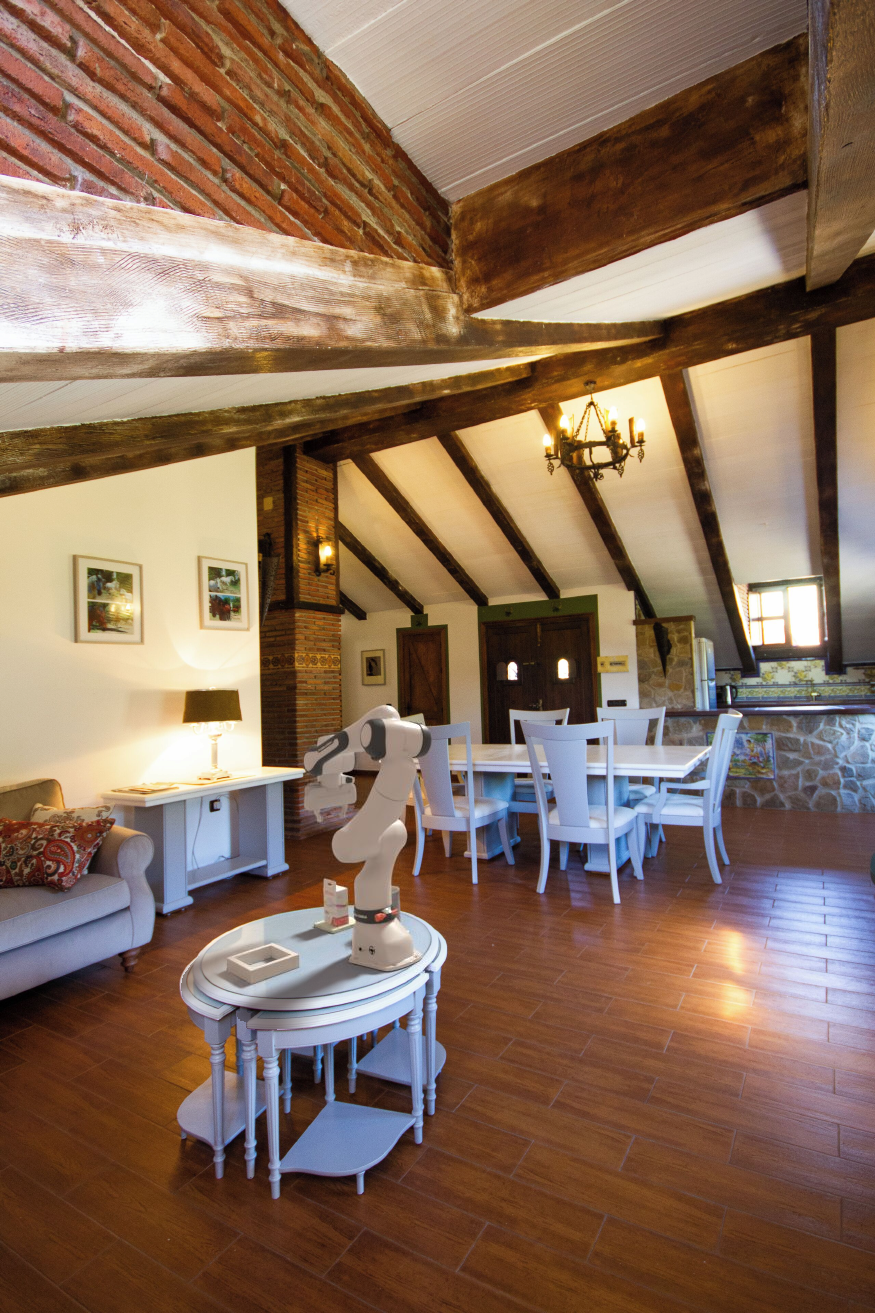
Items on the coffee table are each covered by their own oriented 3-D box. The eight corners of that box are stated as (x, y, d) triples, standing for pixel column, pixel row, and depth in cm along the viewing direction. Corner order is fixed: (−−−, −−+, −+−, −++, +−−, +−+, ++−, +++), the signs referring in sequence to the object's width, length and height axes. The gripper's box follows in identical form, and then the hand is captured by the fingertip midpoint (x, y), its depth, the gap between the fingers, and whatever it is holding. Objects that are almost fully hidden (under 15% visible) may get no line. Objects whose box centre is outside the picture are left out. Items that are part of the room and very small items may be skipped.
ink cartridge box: (349, 923, 221) (348, 879, 222) (337, 927, 218) (335, 882, 219) (336, 918, 228) (334, 875, 229) (323, 922, 224) (322, 878, 225)
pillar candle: (366, 932, 214) (364, 886, 215) (389, 924, 220) (387, 879, 221) (384, 940, 207) (381, 891, 208) (407, 931, 213) (405, 884, 214)
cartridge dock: (299, 967, 188) (298, 954, 188) (251, 984, 178) (251, 971, 178) (273, 954, 199) (272, 943, 199) (226, 970, 188) (226, 957, 189)
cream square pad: (363, 924, 223) (362, 921, 223) (333, 933, 215) (333, 930, 215) (342, 917, 232) (342, 914, 232) (313, 926, 223) (313, 923, 223)
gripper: (309, 784, 222) (310, 825, 221) (358, 777, 236) (359, 816, 235) (299, 783, 227) (301, 823, 226) (348, 776, 241) (349, 814, 240)
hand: (331, 819), depth 231 cm, fingers open, 8 cm apart
